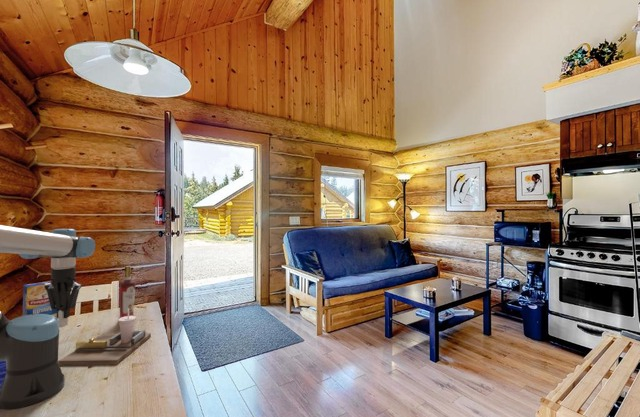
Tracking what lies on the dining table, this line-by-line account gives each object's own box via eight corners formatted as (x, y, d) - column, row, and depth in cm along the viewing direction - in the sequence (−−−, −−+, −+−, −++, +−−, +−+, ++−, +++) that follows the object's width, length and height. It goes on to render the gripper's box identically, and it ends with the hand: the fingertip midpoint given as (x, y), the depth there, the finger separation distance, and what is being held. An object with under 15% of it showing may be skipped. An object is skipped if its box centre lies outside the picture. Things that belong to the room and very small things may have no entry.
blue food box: (57, 328, 141) (58, 282, 141) (25, 336, 132) (27, 287, 132) (53, 325, 145) (54, 280, 145) (21, 332, 136) (23, 285, 136)
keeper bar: (104, 349, 117) (104, 339, 117) (75, 350, 116) (75, 340, 116) (107, 347, 119) (107, 337, 119) (78, 348, 118) (79, 338, 118)
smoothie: (126, 344, 122) (127, 311, 122) (113, 343, 123) (114, 309, 123) (139, 338, 128) (139, 306, 128) (126, 336, 129) (127, 305, 129)
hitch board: (116, 364, 109) (117, 358, 109) (58, 364, 108) (58, 359, 108) (150, 336, 133) (150, 332, 133) (102, 337, 132) (103, 332, 132)
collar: (134, 344, 122) (134, 338, 122) (109, 344, 121) (109, 338, 121) (145, 335, 131) (145, 330, 131) (122, 335, 130) (122, 330, 130)
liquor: (130, 316, 158) (131, 264, 158) (137, 319, 154) (138, 265, 155) (115, 320, 152) (116, 266, 152) (122, 323, 148) (123, 268, 148)
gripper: (87, 265, 121) (86, 322, 121) (54, 265, 121) (54, 322, 121) (73, 269, 114) (72, 329, 114) (38, 269, 113) (37, 330, 113)
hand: (63, 326), depth 117 cm, fingers closed
